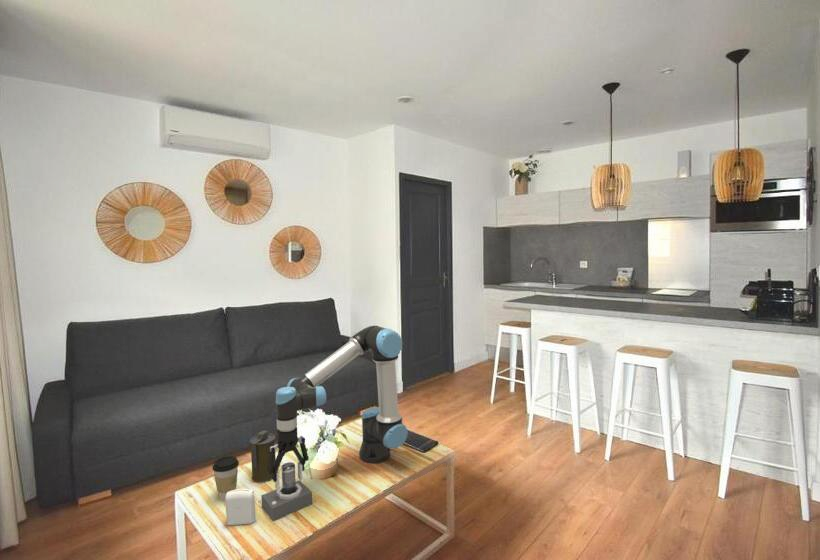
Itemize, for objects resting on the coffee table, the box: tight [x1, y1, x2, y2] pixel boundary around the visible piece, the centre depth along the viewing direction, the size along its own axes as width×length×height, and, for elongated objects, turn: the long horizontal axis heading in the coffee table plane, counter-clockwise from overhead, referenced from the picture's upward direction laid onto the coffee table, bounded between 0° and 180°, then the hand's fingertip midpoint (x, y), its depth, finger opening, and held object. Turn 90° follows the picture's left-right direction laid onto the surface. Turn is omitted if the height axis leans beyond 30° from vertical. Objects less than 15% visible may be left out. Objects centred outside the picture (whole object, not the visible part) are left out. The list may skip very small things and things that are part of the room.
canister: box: [249, 429, 276, 484], centre depth 185 cm, size 11×10×20 cm
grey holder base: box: [260, 479, 313, 522], centre depth 164 cm, size 16×11×6 cm
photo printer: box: [224, 488, 257, 526], centre depth 155 cm, size 10×4×12 cm, turn 96°
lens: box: [280, 461, 297, 495], centre depth 164 cm, size 5×5×11 cm
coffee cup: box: [212, 455, 240, 502], centre depth 170 cm, size 10×10×15 cm
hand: (289, 483), depth 164 cm, fingers open, 9 cm apart
